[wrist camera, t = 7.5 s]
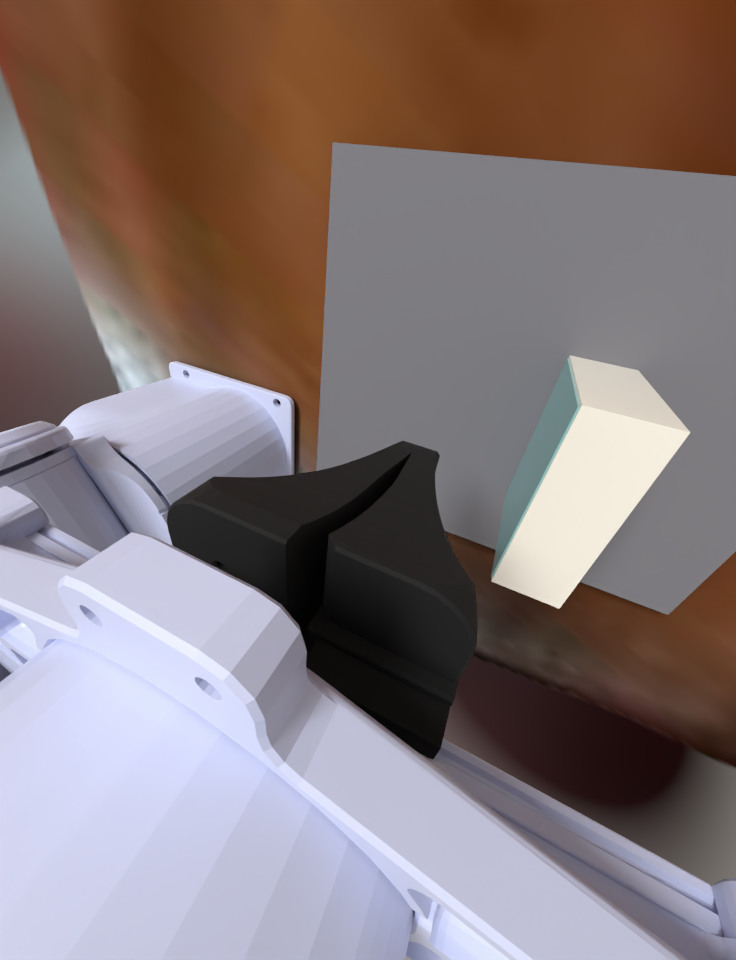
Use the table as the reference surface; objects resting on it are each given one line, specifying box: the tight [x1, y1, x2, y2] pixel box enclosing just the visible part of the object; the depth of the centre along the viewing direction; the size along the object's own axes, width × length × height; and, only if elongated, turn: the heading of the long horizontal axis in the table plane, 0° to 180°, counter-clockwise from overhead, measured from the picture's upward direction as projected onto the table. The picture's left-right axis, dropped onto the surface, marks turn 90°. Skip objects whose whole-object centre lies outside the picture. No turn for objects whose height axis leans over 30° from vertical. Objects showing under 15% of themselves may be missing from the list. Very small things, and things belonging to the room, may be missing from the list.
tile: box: [491, 355, 691, 609], centre depth 13 cm, size 2×7×6 cm, turn 172°
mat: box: [316, 142, 736, 615], centre depth 15 cm, size 20×16×1 cm
